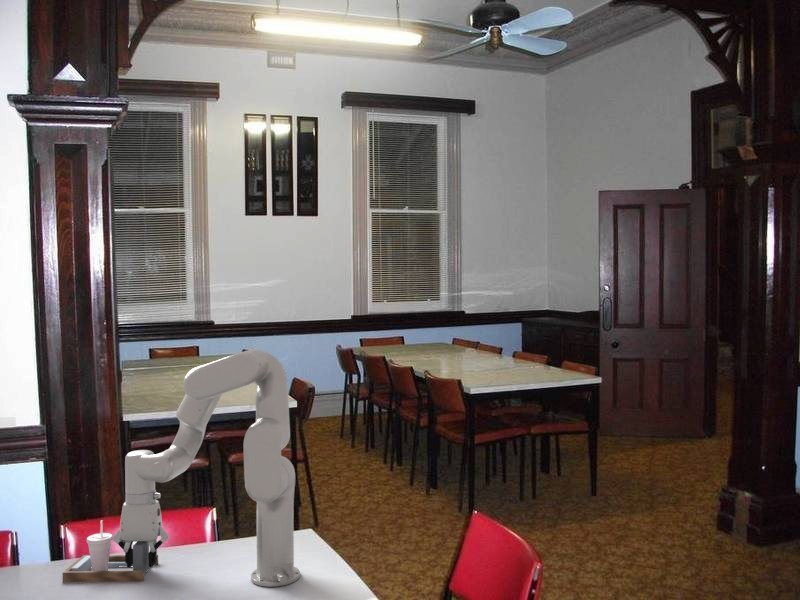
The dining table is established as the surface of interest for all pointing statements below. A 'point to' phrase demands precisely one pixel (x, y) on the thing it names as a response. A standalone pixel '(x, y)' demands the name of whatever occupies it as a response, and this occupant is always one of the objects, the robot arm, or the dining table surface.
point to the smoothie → (99, 549)
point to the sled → (138, 562)
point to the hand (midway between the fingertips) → (141, 564)
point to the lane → (103, 573)
